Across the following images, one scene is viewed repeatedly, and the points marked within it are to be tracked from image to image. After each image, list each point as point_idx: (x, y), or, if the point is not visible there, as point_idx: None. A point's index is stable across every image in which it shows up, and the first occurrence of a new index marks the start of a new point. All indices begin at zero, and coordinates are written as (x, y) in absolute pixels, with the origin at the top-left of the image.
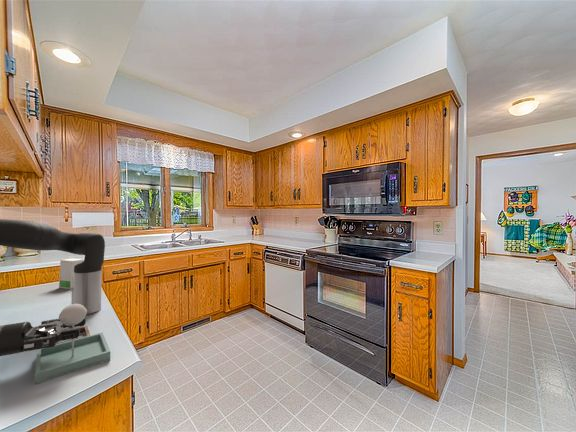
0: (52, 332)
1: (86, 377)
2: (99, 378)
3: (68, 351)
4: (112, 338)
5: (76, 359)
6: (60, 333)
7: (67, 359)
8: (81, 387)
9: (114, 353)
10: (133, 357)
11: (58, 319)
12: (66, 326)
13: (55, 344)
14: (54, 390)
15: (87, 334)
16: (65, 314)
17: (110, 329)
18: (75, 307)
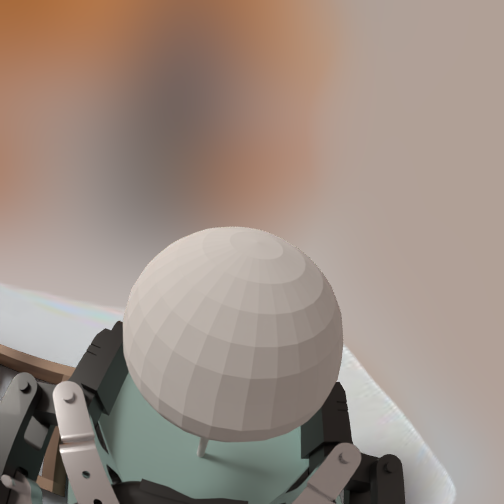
0: (319, 490)
1: (355, 417)
2: (369, 390)
3: (134, 458)
4: None
5: (241, 445)
6: (347, 444)
7: (218, 470)
8: (392, 419)
9: None
10: None
11: (11, 422)
12: (97, 422)
13: (53, 474)
14: None
15: (54, 369)
16: (337, 361)
17: (45, 313)
18: (311, 261)
